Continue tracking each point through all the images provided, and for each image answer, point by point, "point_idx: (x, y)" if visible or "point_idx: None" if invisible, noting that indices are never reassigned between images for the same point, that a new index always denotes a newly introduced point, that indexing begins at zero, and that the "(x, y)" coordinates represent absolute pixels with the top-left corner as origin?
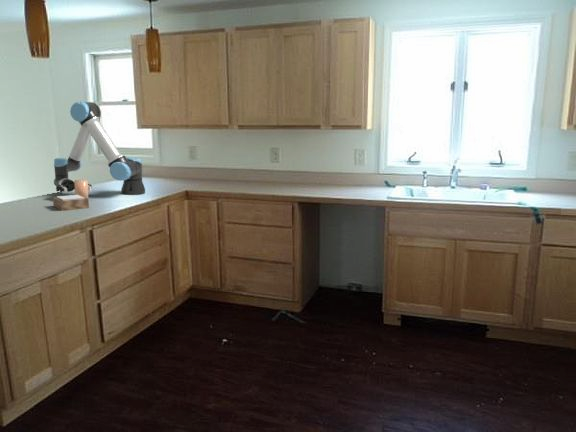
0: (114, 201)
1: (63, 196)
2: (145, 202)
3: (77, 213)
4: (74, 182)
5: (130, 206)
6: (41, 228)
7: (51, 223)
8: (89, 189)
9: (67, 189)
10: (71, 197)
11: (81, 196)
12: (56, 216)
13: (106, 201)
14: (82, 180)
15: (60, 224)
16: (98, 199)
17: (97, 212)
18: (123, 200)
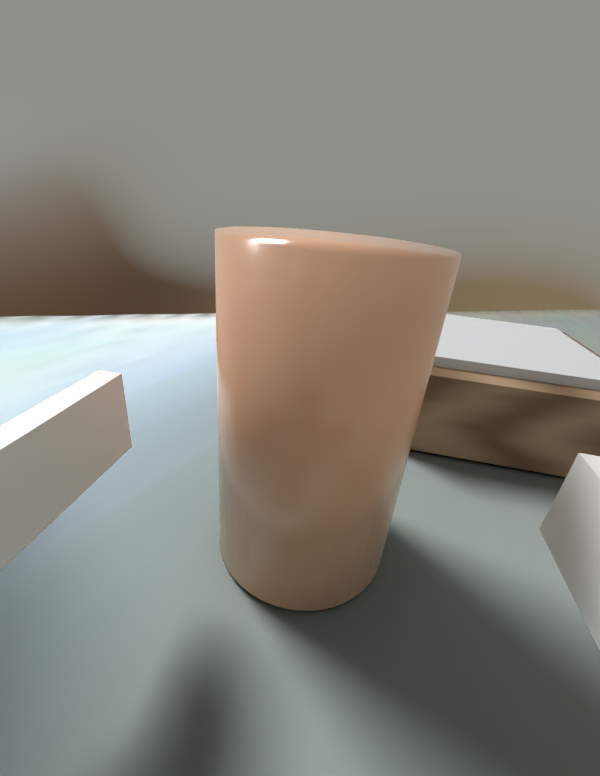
0: (123, 385)
1: (567, 365)
2: (76, 317)
3: None
4: (453, 286)
5: (210, 316)
6: (584, 319)
7: (563, 327)
8: (111, 440)
9: None
10: (498, 333)
11: None
12: None
13: (154, 409)
14: (291, 237)
15: (533, 317)
16: (82, 506)
17: None
18: (51, 375)
